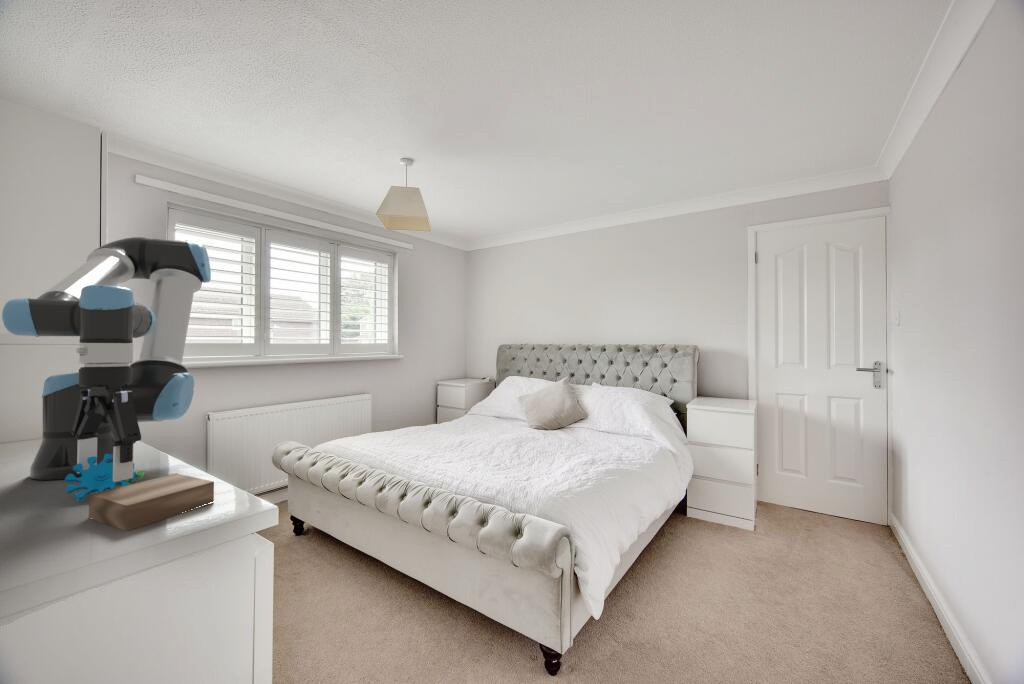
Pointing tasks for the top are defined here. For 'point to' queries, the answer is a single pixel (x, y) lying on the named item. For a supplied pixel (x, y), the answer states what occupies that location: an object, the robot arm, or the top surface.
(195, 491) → the brown rectangular block
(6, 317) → the robot arm
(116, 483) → the gear
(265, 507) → the top surface
